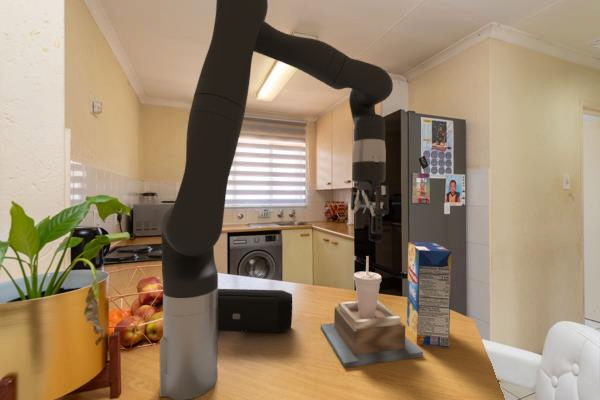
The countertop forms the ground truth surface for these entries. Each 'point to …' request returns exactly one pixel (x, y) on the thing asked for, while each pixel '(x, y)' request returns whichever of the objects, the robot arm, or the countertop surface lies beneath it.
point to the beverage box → (429, 293)
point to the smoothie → (367, 291)
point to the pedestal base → (366, 357)
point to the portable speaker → (254, 310)
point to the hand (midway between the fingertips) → (367, 230)
